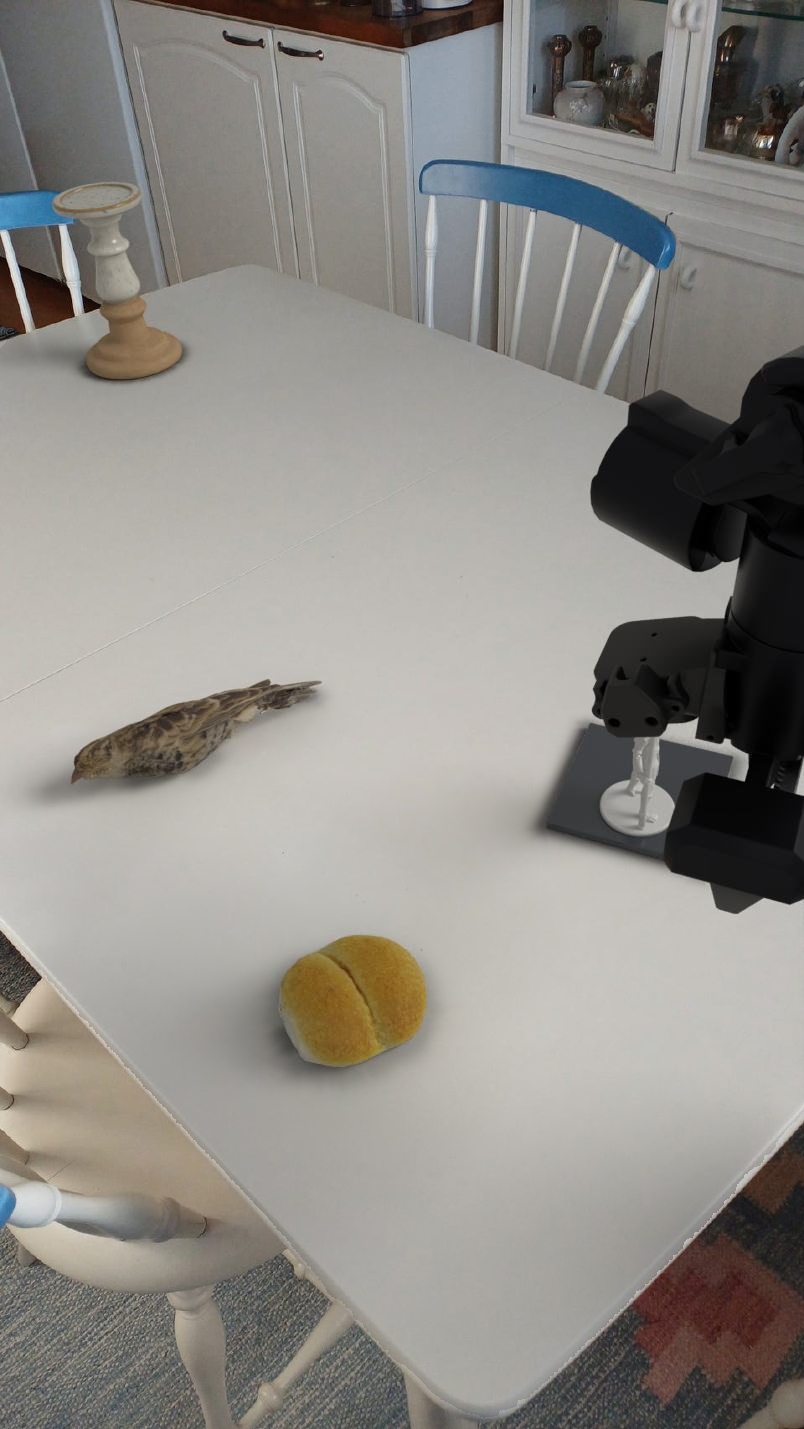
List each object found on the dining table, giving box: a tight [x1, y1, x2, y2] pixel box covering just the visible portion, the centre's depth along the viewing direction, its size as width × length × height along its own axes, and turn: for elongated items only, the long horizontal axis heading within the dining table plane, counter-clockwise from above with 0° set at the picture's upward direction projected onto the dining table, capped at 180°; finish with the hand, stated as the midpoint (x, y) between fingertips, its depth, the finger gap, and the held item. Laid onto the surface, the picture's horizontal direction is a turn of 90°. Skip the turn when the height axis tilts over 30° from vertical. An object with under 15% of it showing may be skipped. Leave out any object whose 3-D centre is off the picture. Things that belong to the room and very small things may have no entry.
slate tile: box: [545, 722, 734, 860], centre depth 78 cm, size 11×11×1 cm
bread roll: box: [277, 934, 428, 1068], centre depth 66 cm, size 8×9×4 cm
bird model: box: [69, 678, 323, 786], centre depth 83 cm, size 21×6×5 cm
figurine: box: [600, 736, 675, 837], centre depth 73 cm, size 5×5×12 cm
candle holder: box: [51, 181, 183, 380], centre depth 133 cm, size 12×12×20 cm
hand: (744, 844), depth 58 cm, fingers open, 9 cm apart
